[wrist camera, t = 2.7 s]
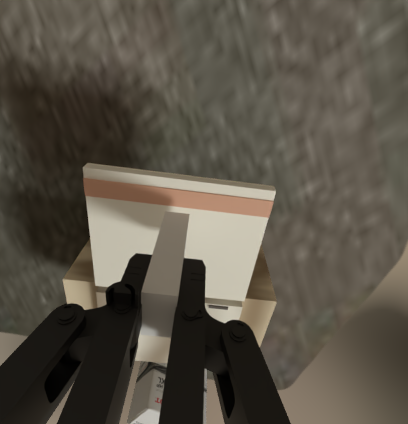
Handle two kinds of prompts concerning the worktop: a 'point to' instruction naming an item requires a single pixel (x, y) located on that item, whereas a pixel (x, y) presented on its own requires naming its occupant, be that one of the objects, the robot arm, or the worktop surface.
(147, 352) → the ticket block
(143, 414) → the ink box
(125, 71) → the worktop surface
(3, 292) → the worktop surface
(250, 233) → the stub
